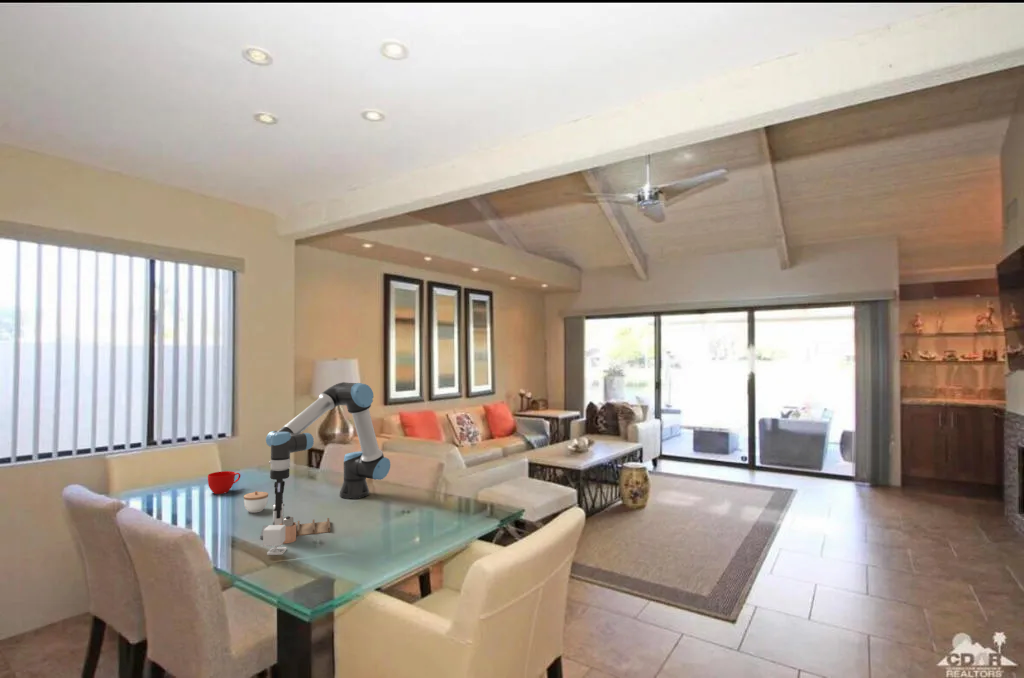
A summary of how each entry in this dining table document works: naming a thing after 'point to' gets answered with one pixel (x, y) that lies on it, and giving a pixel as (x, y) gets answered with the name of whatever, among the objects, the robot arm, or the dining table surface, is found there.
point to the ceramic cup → (221, 481)
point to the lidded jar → (255, 501)
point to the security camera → (274, 539)
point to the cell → (274, 514)
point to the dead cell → (288, 521)
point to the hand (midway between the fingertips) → (278, 523)
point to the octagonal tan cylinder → (290, 533)
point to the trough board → (313, 528)
